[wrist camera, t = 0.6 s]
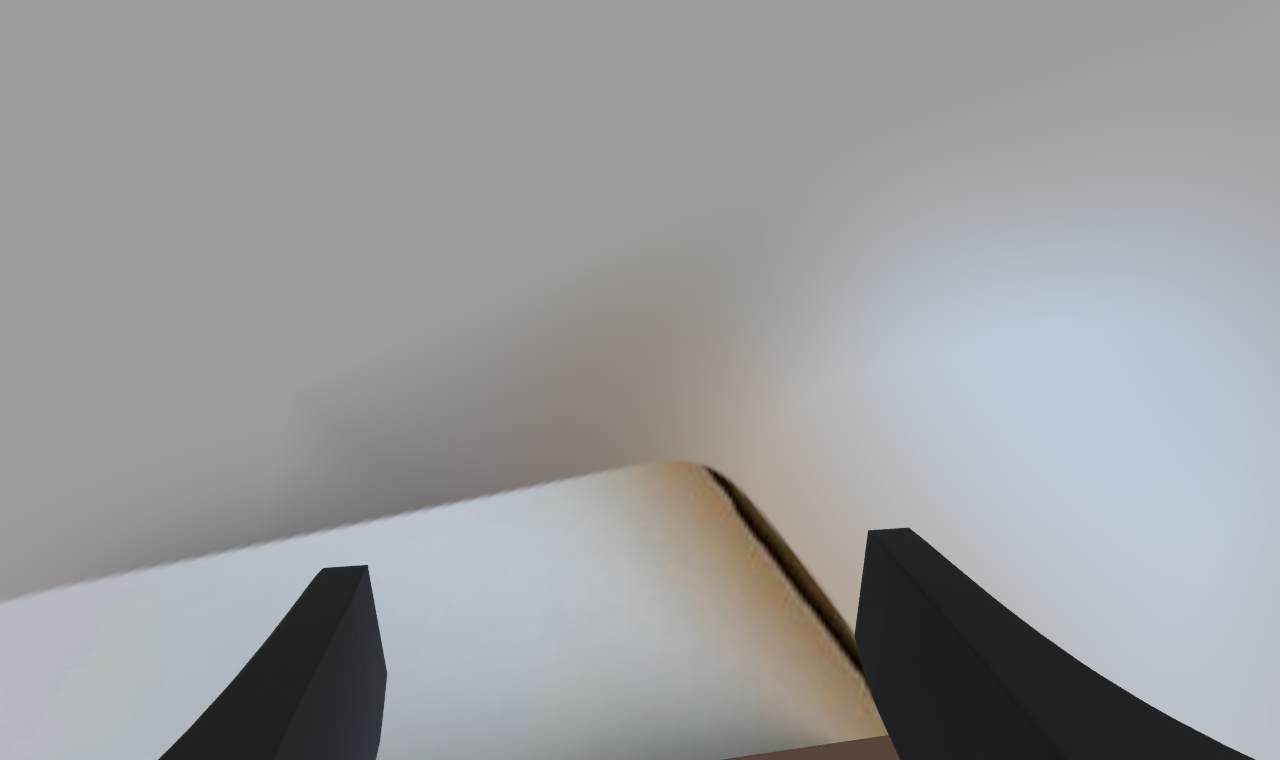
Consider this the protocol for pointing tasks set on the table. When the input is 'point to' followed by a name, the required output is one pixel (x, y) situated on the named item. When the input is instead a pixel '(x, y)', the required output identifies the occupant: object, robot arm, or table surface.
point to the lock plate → (836, 751)
